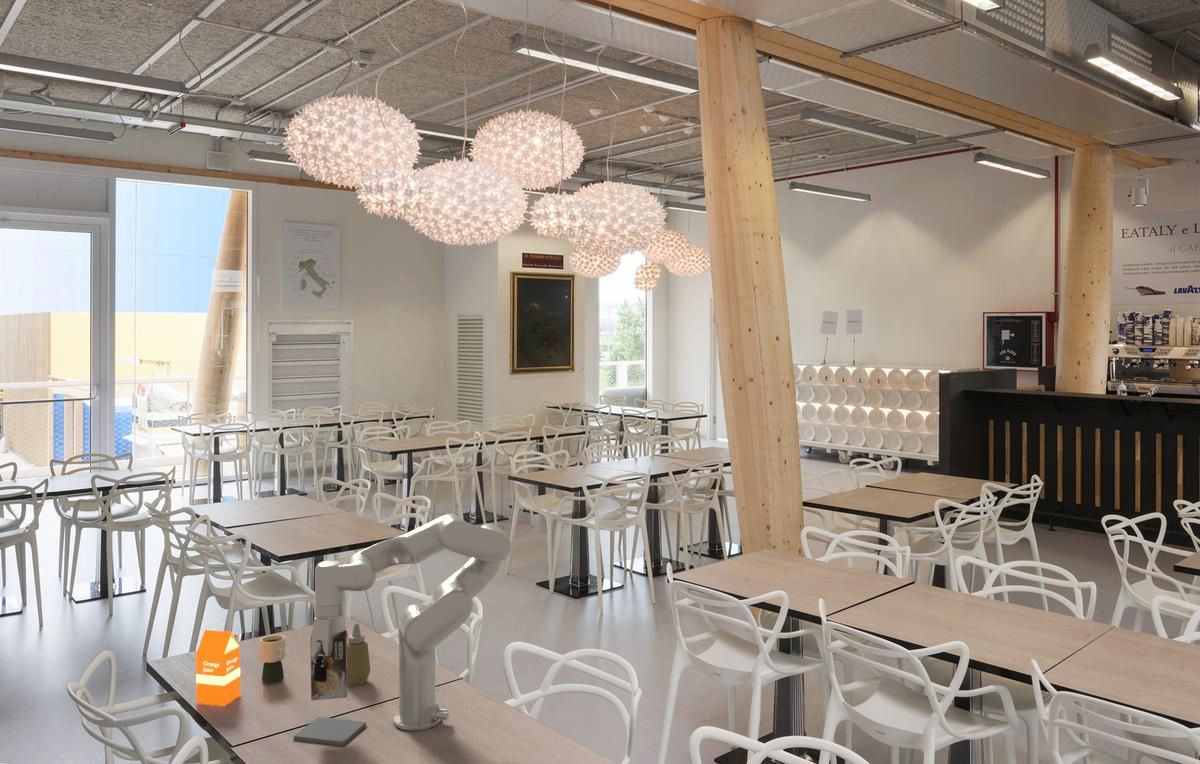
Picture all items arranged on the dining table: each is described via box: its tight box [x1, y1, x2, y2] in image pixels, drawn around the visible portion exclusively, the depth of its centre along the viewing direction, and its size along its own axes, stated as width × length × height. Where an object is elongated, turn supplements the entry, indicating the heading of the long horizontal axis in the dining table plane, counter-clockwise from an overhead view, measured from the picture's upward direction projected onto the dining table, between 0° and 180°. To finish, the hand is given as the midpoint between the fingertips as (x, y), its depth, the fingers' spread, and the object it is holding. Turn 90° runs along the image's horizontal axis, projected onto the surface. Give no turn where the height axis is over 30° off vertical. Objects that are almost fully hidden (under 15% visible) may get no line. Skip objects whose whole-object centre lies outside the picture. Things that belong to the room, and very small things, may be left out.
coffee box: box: [309, 629, 349, 701], centre depth 228 cm, size 9×6×16 cm
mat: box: [293, 716, 367, 747], centre depth 229 cm, size 14×12×1 cm
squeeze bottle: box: [347, 622, 371, 687], centre depth 262 cm, size 8×8×18 cm
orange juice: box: [195, 629, 241, 707], centre depth 248 cm, size 8×9×20 cm
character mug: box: [259, 634, 286, 683], centre depth 263 cm, size 11×7×13 cm, turn 52°
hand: (329, 674), depth 228 cm, fingers closed on coffee box, 8 cm apart
